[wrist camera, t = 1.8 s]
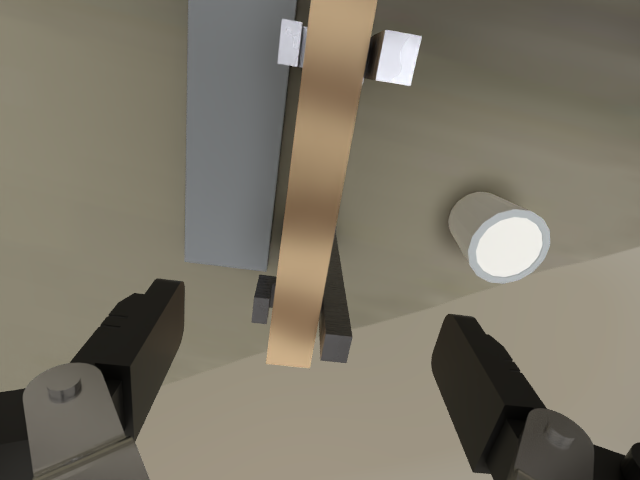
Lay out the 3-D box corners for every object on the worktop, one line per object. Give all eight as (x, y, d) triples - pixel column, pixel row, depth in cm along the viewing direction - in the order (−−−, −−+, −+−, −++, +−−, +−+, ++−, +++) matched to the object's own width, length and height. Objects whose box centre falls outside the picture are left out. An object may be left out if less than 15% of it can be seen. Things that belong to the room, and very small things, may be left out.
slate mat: (194, -24, 30) (188, -28, 28) (297, -4, 30) (297, -8, 29) (188, 254, 39) (184, 261, 38) (267, 264, 40) (266, 271, 39)
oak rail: (315, -28, 20) (316, -44, 17) (372, -17, 20) (383, -31, 17) (269, 335, 29) (265, 363, 26) (309, 339, 29) (309, 368, 26)
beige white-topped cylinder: (440, 252, 40) (465, 287, 33) (443, 188, 37) (472, 212, 31) (506, 247, 40) (544, 281, 33) (515, 182, 37) (558, 206, 31)
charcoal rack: (293, 31, 31) (278, -4, 16) (368, 44, 32) (424, 23, 16) (270, 242, 39) (244, 359, 23) (330, 250, 39) (344, 369, 24)
